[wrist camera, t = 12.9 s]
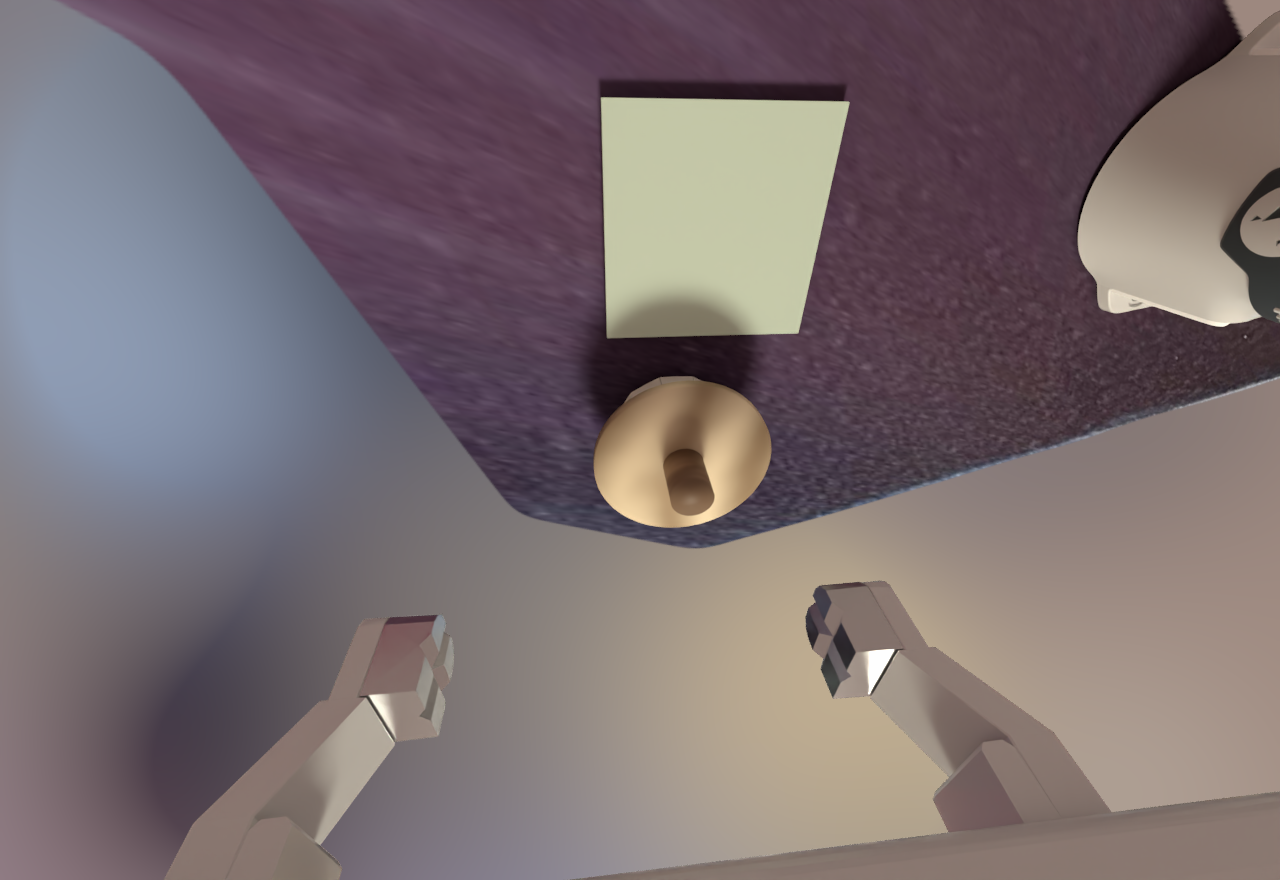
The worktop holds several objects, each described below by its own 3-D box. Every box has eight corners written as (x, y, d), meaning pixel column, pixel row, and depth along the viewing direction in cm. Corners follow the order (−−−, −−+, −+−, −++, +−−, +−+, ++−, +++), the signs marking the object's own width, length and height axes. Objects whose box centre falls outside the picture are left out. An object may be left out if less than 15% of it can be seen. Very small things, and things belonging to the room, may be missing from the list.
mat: (843, 101, 31) (849, 101, 30) (794, 328, 39) (798, 333, 39) (600, 97, 29) (601, 97, 29) (606, 333, 38) (607, 338, 37)
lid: (781, 376, 36) (807, 414, 32) (753, 514, 44) (770, 557, 40) (589, 384, 35) (590, 424, 31) (597, 524, 43) (599, 569, 39)
